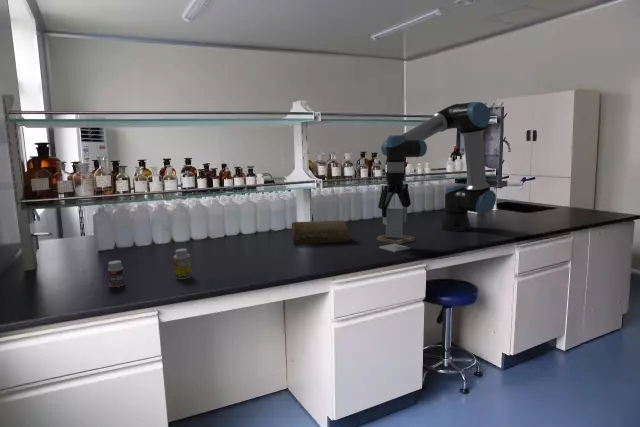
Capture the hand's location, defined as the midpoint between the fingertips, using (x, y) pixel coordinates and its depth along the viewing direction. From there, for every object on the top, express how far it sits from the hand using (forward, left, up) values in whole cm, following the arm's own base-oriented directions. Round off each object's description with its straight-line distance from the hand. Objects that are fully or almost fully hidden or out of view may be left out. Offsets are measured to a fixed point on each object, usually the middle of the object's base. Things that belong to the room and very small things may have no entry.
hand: (394, 222), depth 186 cm
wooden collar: (-12, -11, -12) cm, 19 cm away
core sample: (+19, -31, -12) cm, 38 cm away
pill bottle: (+109, -22, -12) cm, 112 cm away
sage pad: (0, 0, -12) cm, 12 cm away
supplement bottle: (+88, -17, -12) cm, 90 cm away
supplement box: (0, 0, -6) cm, 6 cm away
